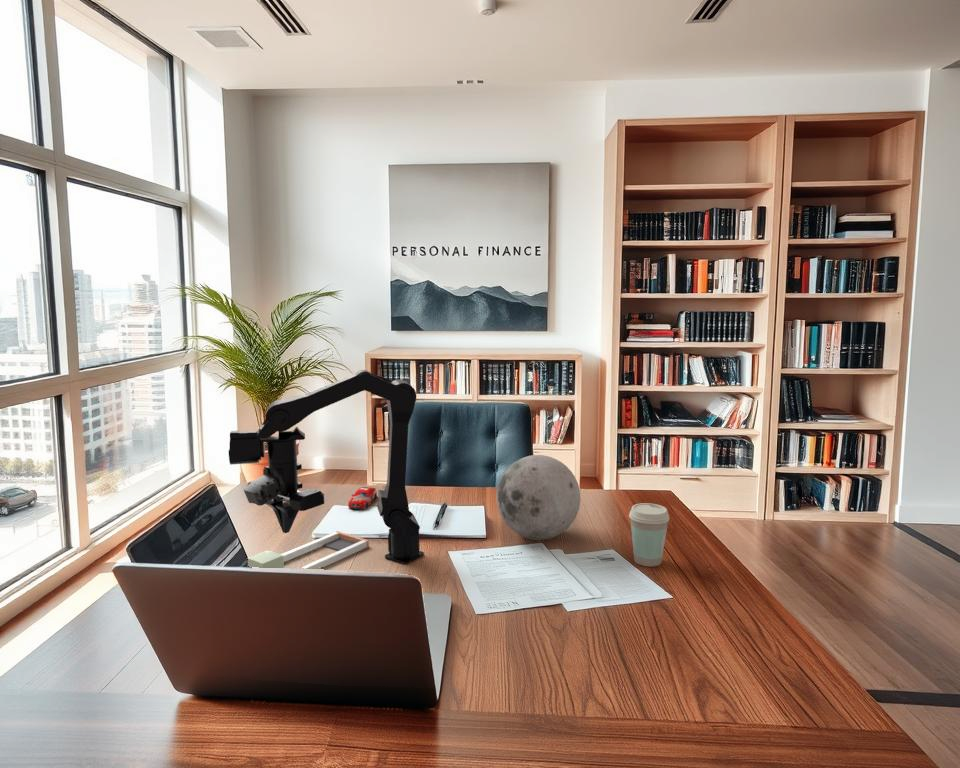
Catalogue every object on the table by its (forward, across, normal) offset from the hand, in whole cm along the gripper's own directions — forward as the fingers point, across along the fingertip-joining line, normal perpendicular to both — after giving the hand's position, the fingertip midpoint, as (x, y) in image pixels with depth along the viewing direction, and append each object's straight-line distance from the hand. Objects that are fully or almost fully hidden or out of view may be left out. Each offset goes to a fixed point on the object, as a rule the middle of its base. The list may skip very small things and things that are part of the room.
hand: (286, 532), depth 136 cm
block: (+8, 0, -5) cm, 10 cm away
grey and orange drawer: (+8, 0, +16) cm, 18 cm away
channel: (+8, 0, +9) cm, 12 cm away
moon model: (+8, +35, +46) cm, 59 cm away
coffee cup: (+8, +62, +47) cm, 78 cm away
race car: (+9, -18, +41) cm, 46 cm away
